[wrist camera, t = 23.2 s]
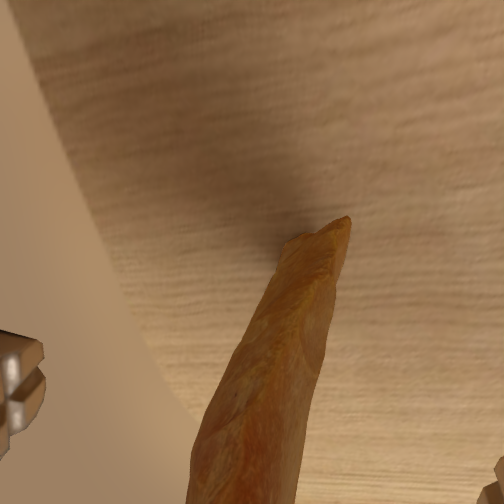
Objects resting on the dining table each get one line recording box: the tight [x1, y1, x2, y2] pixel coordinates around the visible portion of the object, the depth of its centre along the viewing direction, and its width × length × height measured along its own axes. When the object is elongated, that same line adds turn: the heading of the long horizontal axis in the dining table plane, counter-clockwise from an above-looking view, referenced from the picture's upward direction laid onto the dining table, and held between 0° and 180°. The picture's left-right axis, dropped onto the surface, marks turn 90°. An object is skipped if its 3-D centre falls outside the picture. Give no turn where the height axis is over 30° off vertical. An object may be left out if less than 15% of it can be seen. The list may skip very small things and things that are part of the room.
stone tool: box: [186, 216, 352, 504], centre depth 9 cm, size 5×2×15 cm, turn 171°
